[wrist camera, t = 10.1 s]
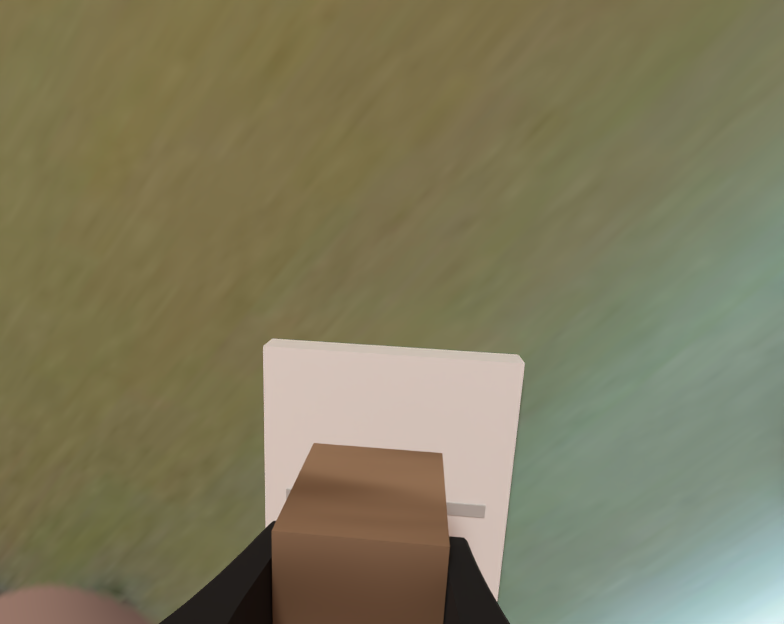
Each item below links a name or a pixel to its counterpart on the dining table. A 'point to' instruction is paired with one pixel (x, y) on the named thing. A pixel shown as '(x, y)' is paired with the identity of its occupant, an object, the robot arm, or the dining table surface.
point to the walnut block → (362, 539)
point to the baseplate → (400, 423)
